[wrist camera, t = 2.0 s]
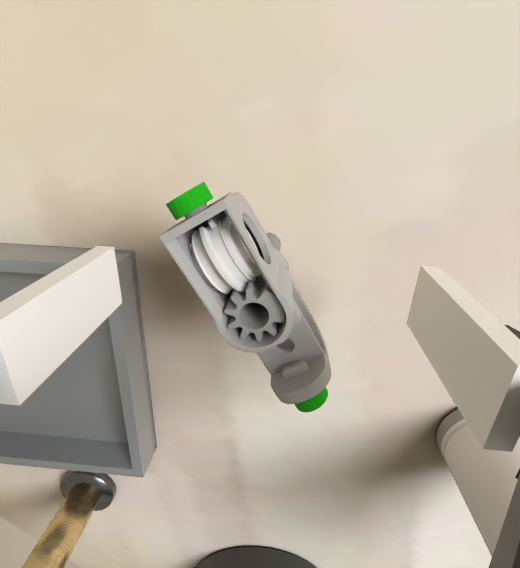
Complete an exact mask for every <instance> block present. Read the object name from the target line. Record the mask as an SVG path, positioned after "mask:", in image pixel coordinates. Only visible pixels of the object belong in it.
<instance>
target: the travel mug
mask: <svg viewBox="0 0 520 568" xmlns="http://www.w3.org/2000/svg"><path fill="white" fill-rule="evenodd" d="M436 440H437V444H438V447H439V449H440V451H441V453H442V455H443V457H444V459H445V461H446V462H447V465H448V467H449V469H450V471H451V473H452V475H453V478H454V480H455V482H456V484H457V486H458V488H459V490H460V492H461V494H462V496H463V498H464V500H465V502H466V504H467V506H468V508H469V510H470V512H471V515H472V517H473V519H474V521H475V523H476V525H477V527H478V529H479V531H480V533H481V535H482V537H483V539H484V541H485V543H486V545H487V547H488V549H489V551H490V554H491V556H493V553H494V550H495V547H496V544H497V541H498V538H499V535H500V532H501V529H502V526H503V523H504V520H505V517H506V514H507V511H508V508H509V505H510V502H511V499H512V496H513V493H514V490H515V487H516V484H517V480H518V479H516V478H515V476H516V475H517V473H518V471H519V469H520V437H519V439H518V441H517V443H516V445H515V447H514V449H513V451H512V452H509V451H498V450H487V449H482V447H481V446H480V444H479V442H478V441H477V439H476V437H475V436H474V434H473V432H472V431H471V429H470V427H469V426H468V424H467V422H466V421H465V419H464V417H463V416H462V414H461V412H460V411H459V409H457V410H455V411H453V412H452V413H450V414H449V415H448V416H446V418H445V419H444V420H443V421H442V422H441V424H440V426H439V428H438V431H437V438H436Z"/></svg>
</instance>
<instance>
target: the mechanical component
mask: <svg viewBox="0 0 520 568" xmlns="http://www.w3.org/2000/svg"><path fill="white" fill-rule="evenodd" d="M212 198H213V196H212V195H211V193H210V191H209V190H208V188H207V186H206V184H205V183H204V182H203V183H201V184H199V185H197V186H196V187H194V188H192V189H190V190H189V191H187V192H185V193H184V194H182V195H180V196H179V197H177V198H175V199H174V200H172V201H171V202H169V203H167V204H166V205H167V207H168V208H169V210H170V212H171V213H172V215H173V216H174V218H175V219H176V220H177V219H179V218H181V217H183V216H185V218H186V219H185V220H183V221H181V222H179V223H178V224H176V225H174V226H173V227H171V228H170V229H169V230H167V231H166V232H165V233H163V234H162V235H161V236H159V238H160V240H161V241H162V243H163V244H164V245H165V247H166V248H167V250H168V251H169V253H170V254H171V256H172V257H173V259H174V260H175V262H176V263H177V265H178V266H179V268H180V269H181V271H182V272H183V274H184V275H185V277H186V278H187V280H188V281H189V283H190V284H191V286H192V287H193V289H194V290H195V291H196V293H197V294H198V296H199V297H200V299H201V300H202V302H203V303H204V305H205V306H206V308H207V309H208V311H209V312H210V314H211V315H212V317H213V318H214V320H215V323H216V327H217V329H218V332H219V333H220V335H221V336H222V338H223V339H224V340H225V341H226V342H227V343H229V344H230V345H232V346H233V347H235V348H237V349H239V350H242V351H245V352H253V353H257V354H258V356H259V357H260V359H261V360H262V362H263V363H264V365H265V366H266V368H267V370H268V371H269V373H270V374H271V387H272V389H273V391H274V392H275V394H276V395H277V397H278V398H279V399H280V401H282V402H283V403H287V404H295V406H296V407H297V408H298V410H299V411H302V412H311V411H314V410H316V409H318V408H319V407H321V406H322V405H323V403H324V402H325V401H326V399H327V396H328V391H327V389H326V385H327V384H328V382H329V380H330V377H331V369H330V363H329V358H328V353H327V349H326V345H325V343H324V340H323V337H322V335H321V333H320V331H319V328H318V326H317V324H316V323H315V321H314V319H313V317H312V315H311V314H310V312H309V310H308V308H307V306H306V305H305V303H304V301H303V299H302V297H301V296H300V294H299V292H298V290H297V289H296V287H295V285H294V283H293V281H292V280H291V277H290V275H289V273H288V272H289V269H288V263H287V261H286V259H285V257H284V256H283V255H282V254H281V253H280V240H279V238H278V237H277V236H276V235H274V234H272V233H269V234H266V233H265V231H264V230H263V228H262V226H261V224H260V222H259V221H258V219H257V217H256V215H255V213H254V212H253V210H252V208H251V207H250V205H249V204H248V202H247V201H246V200H245V198H244V197H243V196H242V195H241V194H240V193H238V192H236V193H235V194H232V193H229V194H228V195H226V196H224V197H222V198H221V199H219V200H217V201H215V202H214V203H212V204H210V205H209V206H207V204H206V202H208V201H209V200H211V199H212ZM190 244H192V246H191V253H190ZM206 283H207V284H208V285H209V286H208V285H207V284H206ZM210 286H211V287H213V288H216V290H214V289H212V288H211V287H210Z"/></svg>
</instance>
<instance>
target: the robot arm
mask: <svg viewBox="0 0 520 568" xmlns="http://www.w3.org/2000/svg"><path fill="white" fill-rule="evenodd" d="M121 304H122V297H121V290H120V283H119V277H118V270H117V263H116V257H115V250H114V247H108V246H96V247H94V248H93V249H91V250H89V251H88V252H86V253H84V254H82V255H81V256H79V257H77V258H75V259H74V260H72V261H70V262H69V263H67V264H65V265H63V266H62V267H60V268H58V269H57V270H55V271H53V272H51V273H50V274H48V275H46V276H45V277H43V278H41V279H39V280H38V281H36V282H34V283H32V284H31V285H29V286H27V287H26V288H24V289H22V290H20V291H19V292H17V293H15V294H14V295H12V296H10V297H8V298H6V299H4V300H3V301H1V302H0V404H8V405H19V406H20V405H21V404H22V403H23V402H24V401H25V400H26V399H27V398H28V397H29V396H30V395H31V394H32V393H33V392H34V391H35V390H36V389H37V388H38V387H39V386H40V385H41V384H42V383H43V382H44V381H45V380H46V379H47V378H48V377H49V376H50V375H51V374H52V373H53V372H54V371H55V370H56V369H57V368H58V367H59V366H60V365H61V364H62V363H63V362H64V361H65V360H66V359H67V358H68V357H69V356H70V355H71V354H72V353H73V352H74V351H75V350H76V349H77V348H78V347H79V346H80V345H81V344H82V343H83V342H84V341H85V340H86V339H87V338H88V337H89V336H90V335H91V334H92V333H93V332H94V331H95V330H96V329H97V328H98V327H99V326H100V325H101V324H102V323H103V322H104V321H105V320H106V319H107V318H108V317H109V316H110V315H111V314H112V313H113V312H114V311H115V310H116V309H117V308H118V307H119V306H120V305H121ZM407 324H408V326H409V328H410V329H411V331H412V333H413V334H414V336H415V338H416V339H417V341H418V343H419V344H420V346H421V348H422V349H423V351H424V353H425V354H426V356H427V358H428V359H429V361H430V363H431V364H432V366H433V368H434V369H435V371H436V373H437V374H438V376H439V378H440V379H441V381H442V383H443V384H444V386H445V388H446V389H447V391H448V393H449V394H450V396H451V398H452V399H453V401H454V402H455V404H456V406H457V407H458V409H459V411H460V412H461V414H462V416H463V417H464V419H465V421H466V422H467V424H468V426H469V427H470V429H471V431H472V432H473V434H474V436H475V437H476V439H477V441H478V442H479V444H480V446H481V447H482V449H487V450H498V451H509V452H512V451H513V449H514V447H515V445H516V443H517V441H518V439H519V437H520V332H519V331H517V330H516V329H514V328H512V327H510V326H508V325H503V324H502V323H501V322H500V321H499V320H498V319H497V318H496V317H495V316H493V315H492V314H491V313H490V312H489V311H488V310H487V309H486V308H485V307H484V306H482V305H481V304H480V303H479V302H478V301H477V300H476V299H475V298H474V297H473V296H471V295H470V294H469V293H468V292H467V291H466V290H465V289H464V288H463V287H462V286H460V285H459V284H458V283H457V282H456V281H455V280H454V279H453V278H452V277H450V276H449V275H448V274H447V273H446V272H445V271H444V270H443V269H442V268H441V267H434V266H421V267H420V271H419V275H418V279H417V283H416V287H415V291H414V295H413V300H412V304H411V308H410V312H409V316H408V320H407ZM515 478H516V479H518V480H517V484H516V487H515V490H514V493H513V496H512V499H511V502H510V505H509V508H508V511H507V514H506V517H505V520H504V523H503V526H502V529H501V532H500V535H499V538H498V541H497V544H496V547H495V550H494V553H493V556H492V559H491V562H490V565H489V568H520V469H519V471H518V473H517V475H516V476H515ZM197 568H316V567H315V566H313V565H312V564H311V563H309V562H307V561H306V560H304V559H302V558H300V557H297V556H295V555H292V554H290V553H287V552H283V551H280V550H275V549H270V548H261V547H240V548H233V549H228V550H224V551H221V552H218V553H215V554H213V555H211V556H209V557H208V558H206V559H205V560H203V561H202V562H201V563H200V564H199V565H198V567H197Z"/></svg>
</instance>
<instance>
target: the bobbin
mask: <svg viewBox="0 0 520 568" xmlns="http://www.w3.org/2000/svg"><path fill="white" fill-rule="evenodd" d="M60 489H61V492H62V494H63V496H64V497H65V500H64V501H63V503H62V504H61V506H60V508H59V509H58V511H57V512H56V514H55V516H54V517H53V519H52V520H51V522H50V524H49V525H48V527H47V528H46V530H45V532H44V533H43V535H42V536H41V538H40V540H39V541H38V543H37V545H36V546H35V548H34V549H33V551H32V552H31V554H30V556H29V557H28V559H27V561H26V562H25V564H24V565H23V567H22V568H64V566H65V565H66V562H67V561H68V559H69V557H70V555H71V553H72V551H73V549H74V547H75V546H76V544H77V542H78V540H79V538H80V536H81V534H82V532H83V530H84V528H85V527H86V525H87V523H88V521H89V519H90V517H91V515H92V513H93V511H98V510H103V509H105V508H107V507H108V506H109V505H110V504H111V502H112V500H113V498H114V496H115V494H116V486H115V484H114V482H113V480H112V479H111V478H110V477H109V476H108V475H106V474H104V473H94V472H84V471H74V470H70V471H69V472H68V473H67V474H66V476H65V477H64V479H63V480H62V482H61V485H60Z"/></svg>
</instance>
